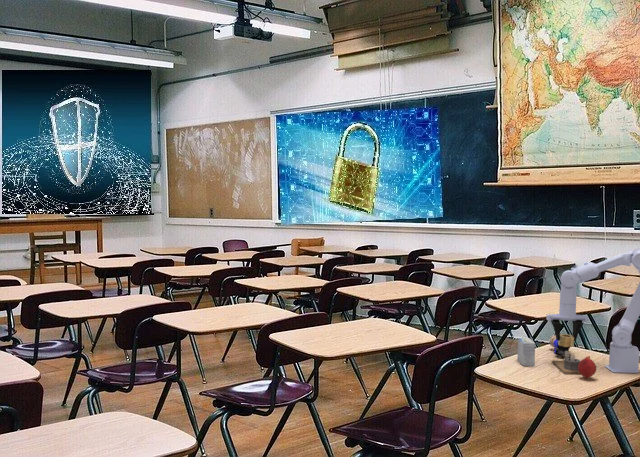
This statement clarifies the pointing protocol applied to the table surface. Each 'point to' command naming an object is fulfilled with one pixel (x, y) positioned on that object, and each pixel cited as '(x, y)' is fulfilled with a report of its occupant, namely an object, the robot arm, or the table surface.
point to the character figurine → (557, 346)
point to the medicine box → (526, 352)
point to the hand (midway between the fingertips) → (566, 340)
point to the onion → (587, 367)
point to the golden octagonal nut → (566, 340)
